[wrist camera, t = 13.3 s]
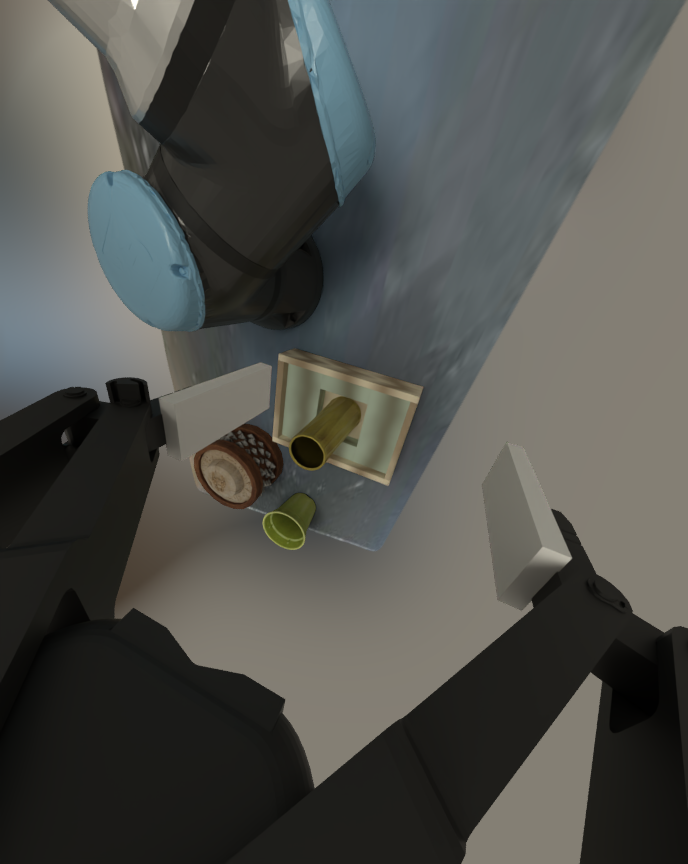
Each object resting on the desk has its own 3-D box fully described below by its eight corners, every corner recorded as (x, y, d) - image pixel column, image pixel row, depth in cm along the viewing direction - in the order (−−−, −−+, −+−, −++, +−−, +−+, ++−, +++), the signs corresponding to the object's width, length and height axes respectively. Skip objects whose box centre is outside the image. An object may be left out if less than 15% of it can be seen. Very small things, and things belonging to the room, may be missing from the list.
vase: (341, 388, 46) (300, 422, 34) (368, 413, 46) (338, 456, 34) (321, 412, 49) (277, 451, 37) (347, 436, 49) (311, 481, 37)
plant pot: (279, 486, 62) (255, 512, 55) (315, 485, 58) (294, 512, 51) (293, 520, 65) (272, 548, 58) (328, 520, 61) (311, 551, 54)
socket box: (286, 429, 55) (272, 440, 50) (294, 348, 47) (278, 353, 42) (394, 469, 50) (388, 485, 46) (423, 387, 42) (419, 397, 38)
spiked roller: (250, 460, 46) (255, 524, 53) (284, 432, 55) (284, 490, 62) (180, 437, 50) (193, 501, 57) (223, 415, 59) (229, 472, 66)
